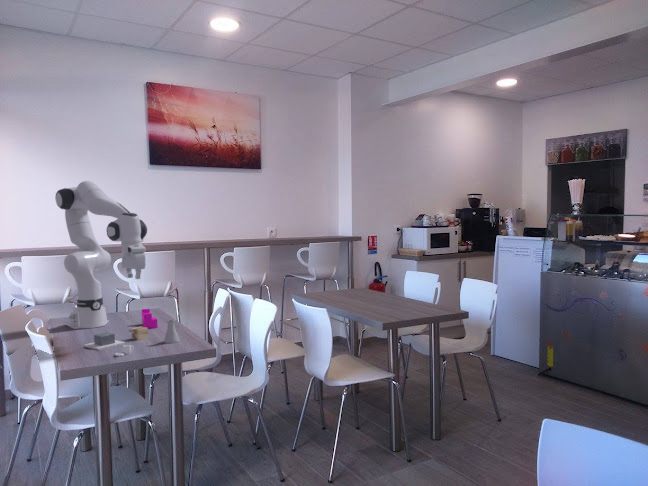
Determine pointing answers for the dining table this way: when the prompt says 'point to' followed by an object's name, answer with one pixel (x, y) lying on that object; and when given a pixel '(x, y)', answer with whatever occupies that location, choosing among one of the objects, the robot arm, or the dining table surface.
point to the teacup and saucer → (125, 350)
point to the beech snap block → (139, 333)
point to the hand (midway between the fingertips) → (134, 278)
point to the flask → (171, 333)
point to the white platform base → (104, 341)
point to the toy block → (148, 319)
